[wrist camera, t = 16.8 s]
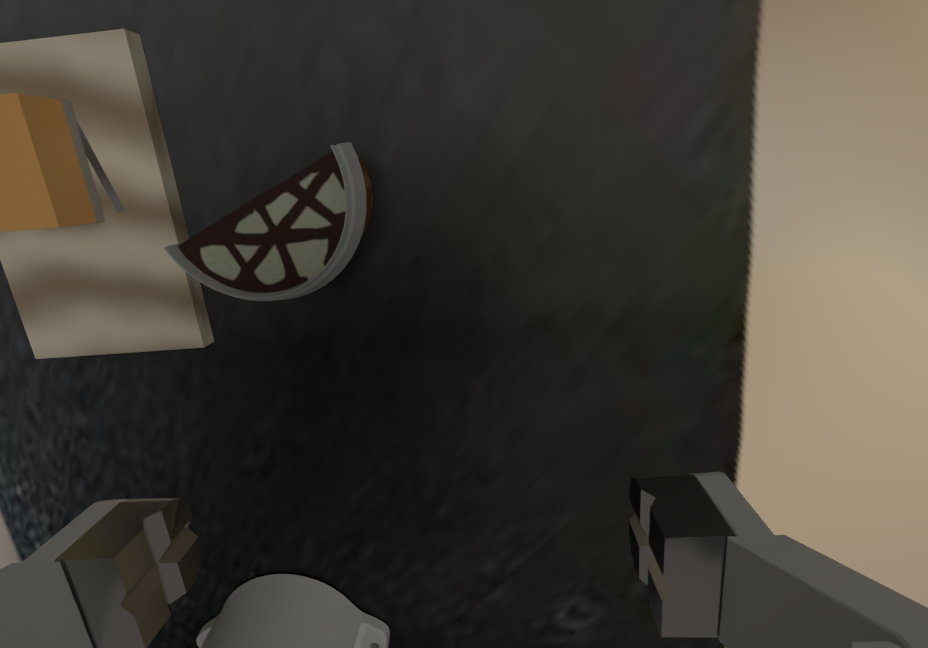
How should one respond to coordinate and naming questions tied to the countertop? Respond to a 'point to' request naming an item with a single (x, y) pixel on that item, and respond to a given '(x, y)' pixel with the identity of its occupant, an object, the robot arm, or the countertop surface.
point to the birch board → (104, 210)
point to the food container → (286, 233)
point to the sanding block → (43, 166)
